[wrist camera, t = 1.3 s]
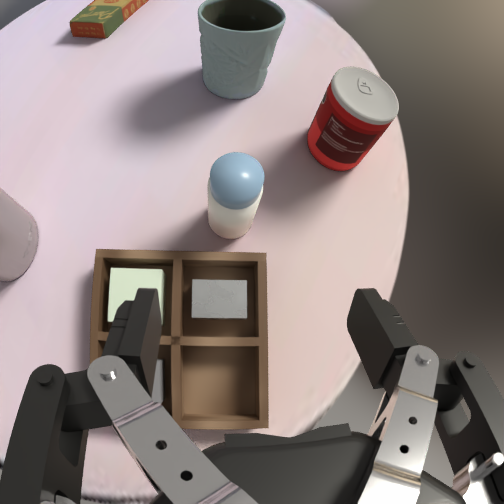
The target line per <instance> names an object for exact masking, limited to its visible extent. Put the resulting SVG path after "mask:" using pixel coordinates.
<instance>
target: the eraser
mask: <svg viewBox="0 0 504 504" xmlns="http://www.w3.org/2000/svg"><path fill="white" fill-rule="evenodd" d="M152 400H153V401H154V402H155V403H156V402H159V403H160V404H161V403H162V402H163V401H164V400H165V359H157V364H156V370H155V377H154V384H153V391H152Z"/></svg>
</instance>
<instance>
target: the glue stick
mask: <svg viewBox="0 0 504 504" xmlns="http://www.w3.org/2000/svg"><path fill="white" fill-rule="evenodd" d="M263 183H264V171H263V168H262V166H261V165H260V163H259V162H258V161H257V160H256V159H255V158H253V157H252V156H250V155H248V154H245V153H238V152H234V153H228V154H225V155H223V156H221V157H220V158H218V159H217V160H216V161H215V162H214V164H213V166H212V168H211V171H210V178H209V180H208V222H209V225H210V227H211V229H212V230H213V231H214V233H216V234H217V235H218V236H220V237H223V238H226V239H235V238H239V237H241V236H243V235H244V234H246V233H247V232H248V230H249V229H250V227H251V225H252V222H253V219H254V216H255V213H256V211H257V208H258V205H259V202H260V199H261V196H262V193H263Z"/></svg>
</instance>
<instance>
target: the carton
mask: <svg viewBox="0 0 504 504" xmlns="http://www.w3.org/2000/svg"><path fill="white" fill-rule="evenodd" d="M147 1H148V0H94V1H93V2H92V3H90V4H89V5H88V6H87V7H86V8H84V9H83V10H82V11H81V12H80V13H79V14H77V15H76V16H75V17H74V18H73V19H72V20H71V21H70V28H71V32H72V35H73V37H91V38H104V39H106V38H108V37H109V36H110V35H111V34H112V33H113V32H114V31H115V30H116V29H117V28H118V27H119V26H120V25H121V24H122V23H123V22H124V21H126V20H127V19H128V18H129V17H130V16H131V15H132V14H133V13H134V12H136V11H137V10H138V9H139V8H140V7H141V6H143V5H144V4H145V3H146V2H147Z"/></svg>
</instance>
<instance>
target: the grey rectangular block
mask: <svg viewBox="0 0 504 504" xmlns="http://www.w3.org/2000/svg"><path fill="white" fill-rule="evenodd" d="M192 318H193V319H210V320H245V319H247V280H200V279H192Z"/></svg>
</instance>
